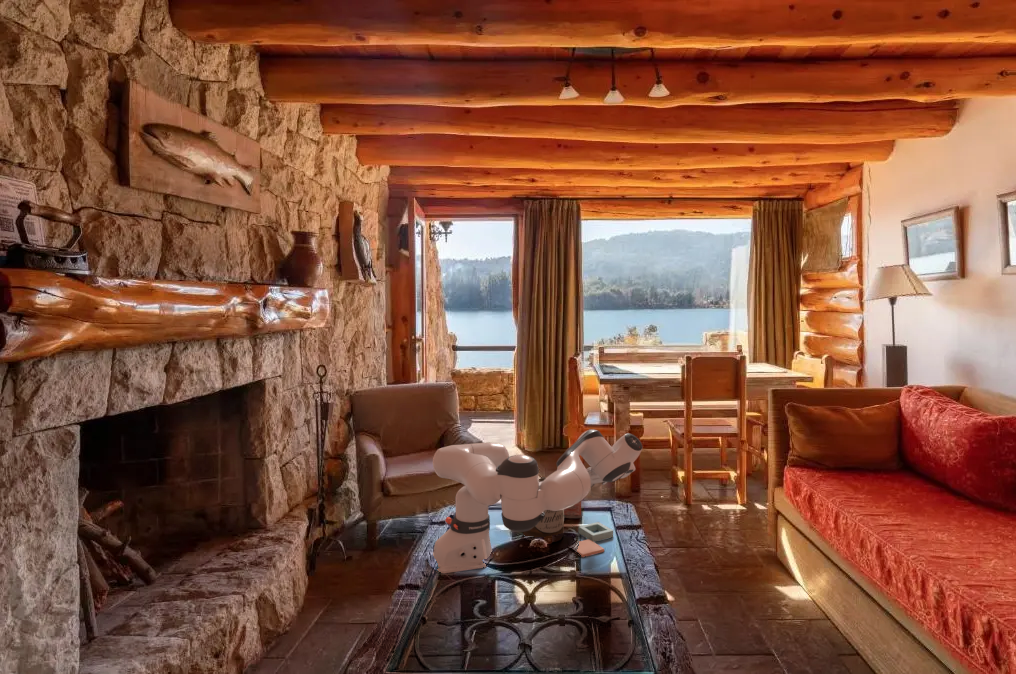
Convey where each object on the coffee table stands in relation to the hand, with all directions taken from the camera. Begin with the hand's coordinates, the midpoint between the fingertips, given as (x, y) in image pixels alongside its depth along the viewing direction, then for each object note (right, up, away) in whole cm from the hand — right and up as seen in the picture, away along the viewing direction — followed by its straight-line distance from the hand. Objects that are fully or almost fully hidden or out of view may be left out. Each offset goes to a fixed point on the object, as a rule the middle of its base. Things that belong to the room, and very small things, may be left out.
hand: (596, 484), depth 222 cm
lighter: (-7, -18, +19) cm, 27 cm away
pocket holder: (0, -19, +2) cm, 19 cm away
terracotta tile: (-5, -20, -10) cm, 23 cm away
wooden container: (-19, -20, +1) cm, 27 cm away
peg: (0, -4, 0) cm, 4 cm away
